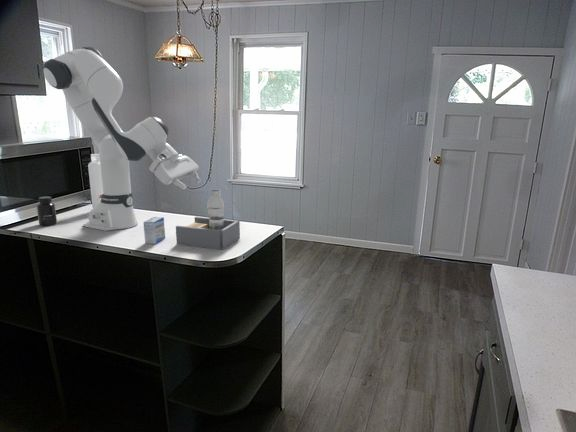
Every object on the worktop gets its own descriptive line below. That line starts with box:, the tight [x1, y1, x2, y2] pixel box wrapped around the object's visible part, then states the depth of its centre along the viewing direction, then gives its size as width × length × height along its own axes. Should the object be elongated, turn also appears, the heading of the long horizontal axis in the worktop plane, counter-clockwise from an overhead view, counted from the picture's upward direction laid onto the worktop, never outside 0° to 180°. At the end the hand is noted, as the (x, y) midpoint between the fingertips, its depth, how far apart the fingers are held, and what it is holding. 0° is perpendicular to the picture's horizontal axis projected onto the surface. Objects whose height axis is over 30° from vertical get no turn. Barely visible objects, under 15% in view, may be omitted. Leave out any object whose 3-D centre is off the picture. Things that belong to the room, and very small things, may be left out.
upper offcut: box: [186, 222, 208, 229], centre depth 158 cm, size 6×9×3 cm, turn 159°
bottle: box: [87, 153, 103, 209], centre depth 197 cm, size 8×8×28 cm
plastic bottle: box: [206, 189, 225, 230], centre depth 154 cm, size 6×7×20 cm
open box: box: [175, 216, 241, 250], centre depth 156 cm, size 19×15×7 cm
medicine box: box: [143, 216, 166, 245], centre depth 156 cm, size 8×4×9 cm, turn 170°
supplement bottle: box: [36, 195, 58, 227], centre depth 175 cm, size 7×7×12 cm
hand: (192, 185), depth 154 cm, fingers open, 8 cm apart
